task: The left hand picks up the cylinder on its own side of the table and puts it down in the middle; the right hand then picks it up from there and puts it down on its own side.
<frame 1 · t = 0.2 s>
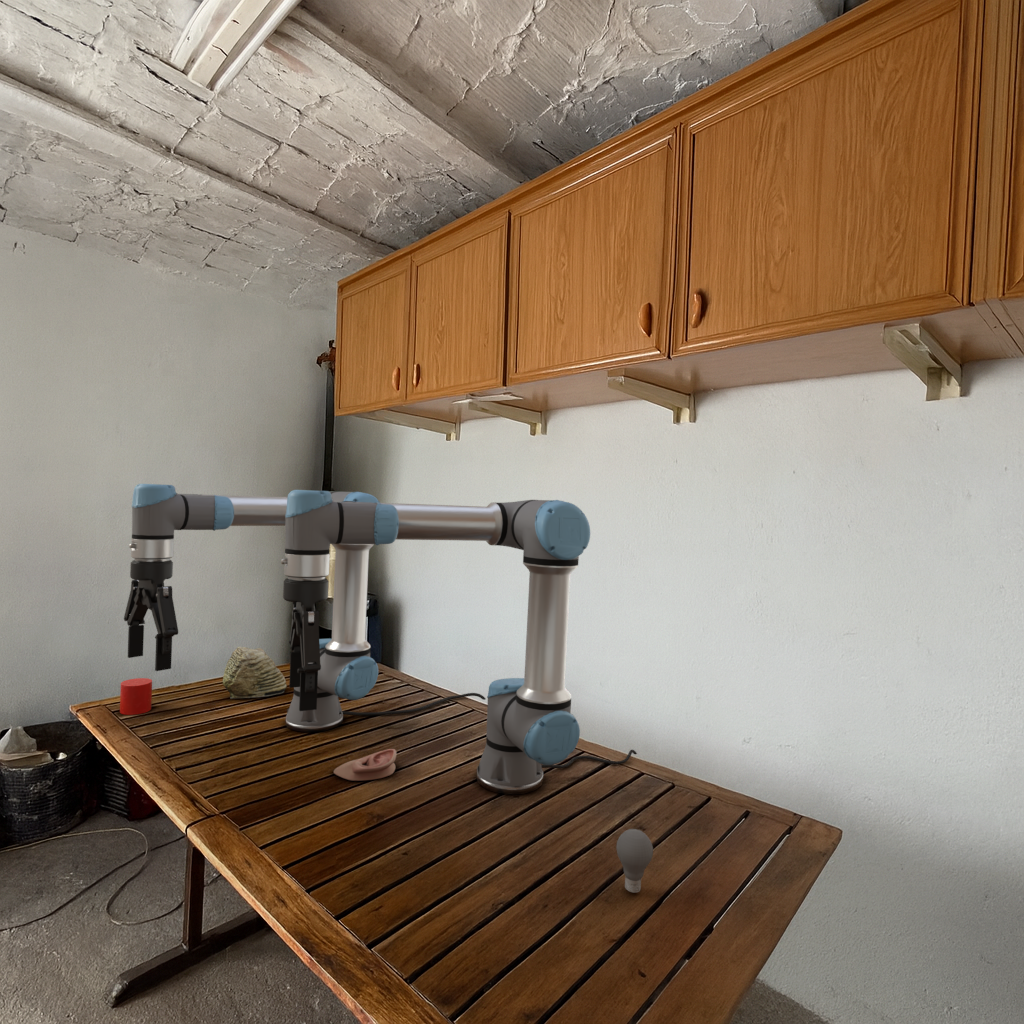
left hand: (148, 663, 130), 28 cm above the table, tool pointing down, fingers open, 13 cm apart
right hand: (302, 697, 112), 28 cm above the table, tool pointing down, fingers open, 13 cm apart
fossil: (254, 694, 198), on the table
anatomical model: (365, 771, 147), on the table
light bulb: (632, 891, 106), on the table
cylinder: (135, 710, 180), on the table
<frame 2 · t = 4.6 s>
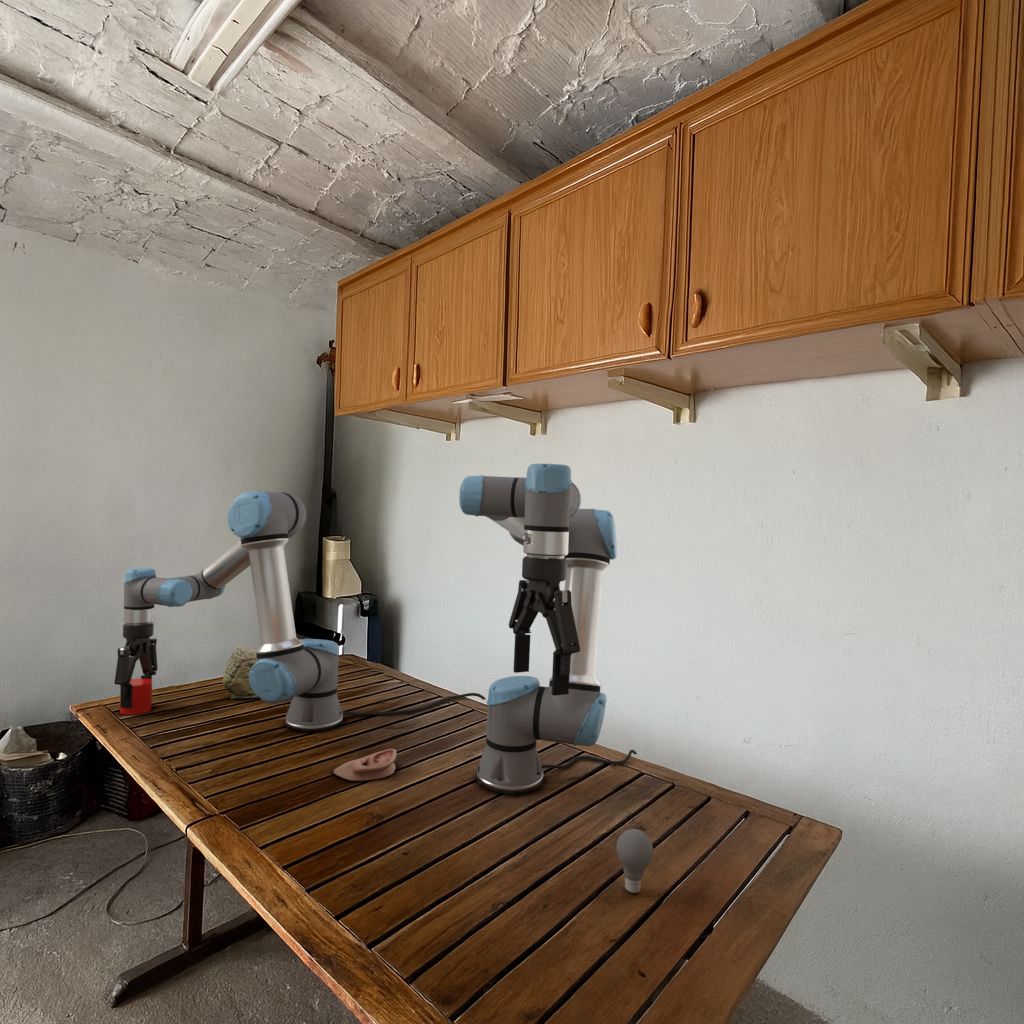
left hand: (135, 702, 180), 2 cm above the table, tool pointing down, fingers closed on cylinder, 8 cm apart
right hand: (539, 682, 106), 34 cm above the table, tool pointing down, fingers open, 13 cm apart
cylinder: (135, 710, 180), on the table, touching left hand
everything else where it was.
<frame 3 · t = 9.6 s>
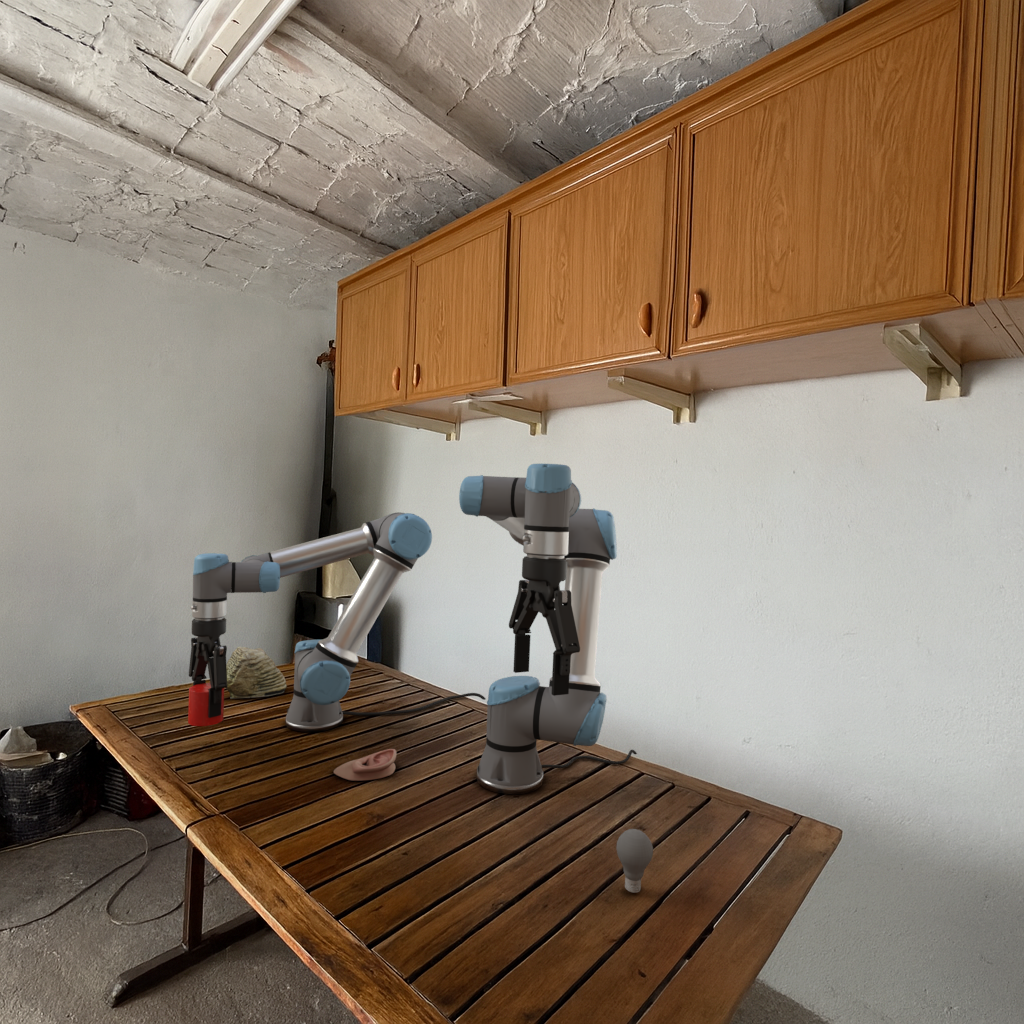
left hand: (206, 711, 153), 10 cm above the table, tool pointing down, fingers closed on cylinder, 8 cm apart
right hand: (539, 682, 106), 34 cm above the table, tool pointing down, fingers open, 13 cm apart
cylinder: (205, 720, 153), point 8 cm above the table, touching left hand
everything else where it was.
when the left hand's fingers open (4 cm above the table, at t = 14.8 s): cylinder drops 2 cm, on the table.
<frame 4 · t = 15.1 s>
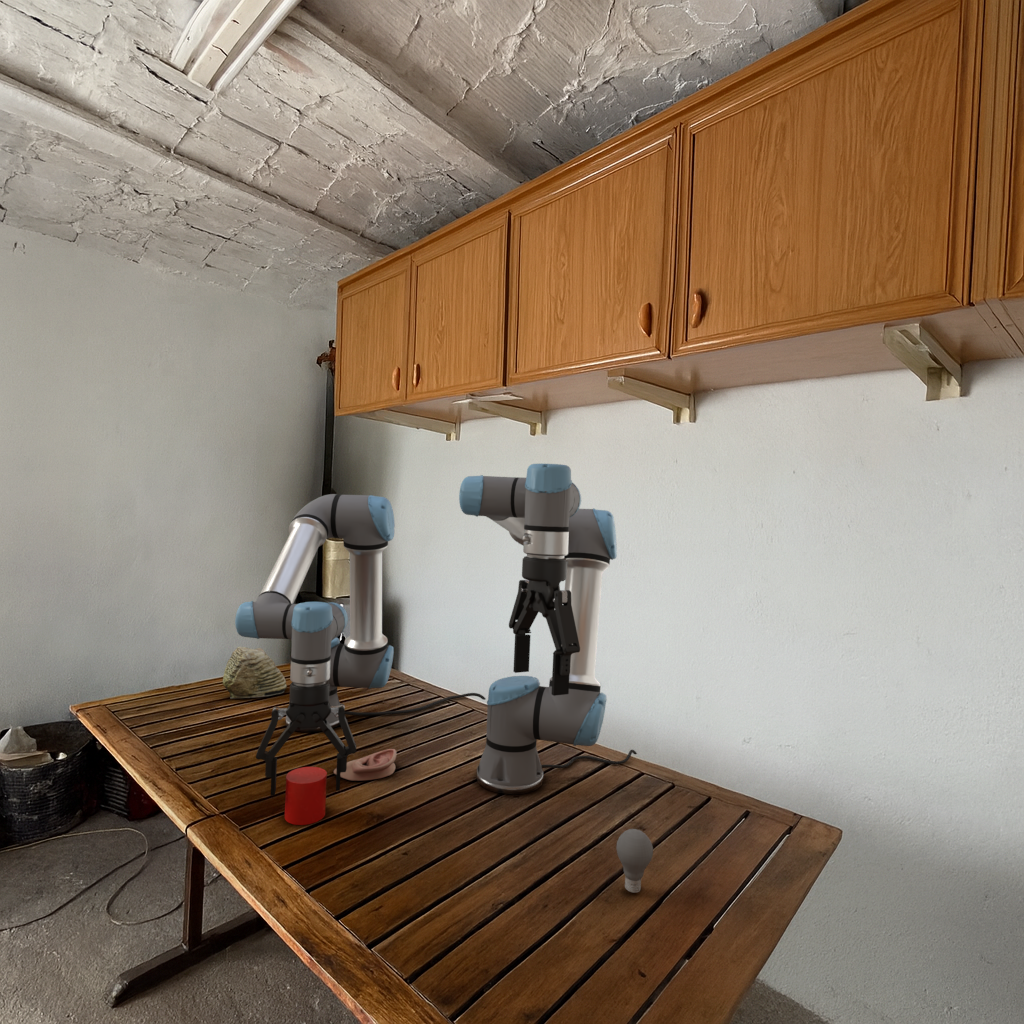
left hand: (305, 790, 126), 5 cm above the table, tool pointing down, fingers open, 11 cm apart
right hand: (539, 682, 106), 34 cm above the table, tool pointing down, fingers open, 13 cm apart
cylinder: (305, 815, 126), on the table
everything else where it was.
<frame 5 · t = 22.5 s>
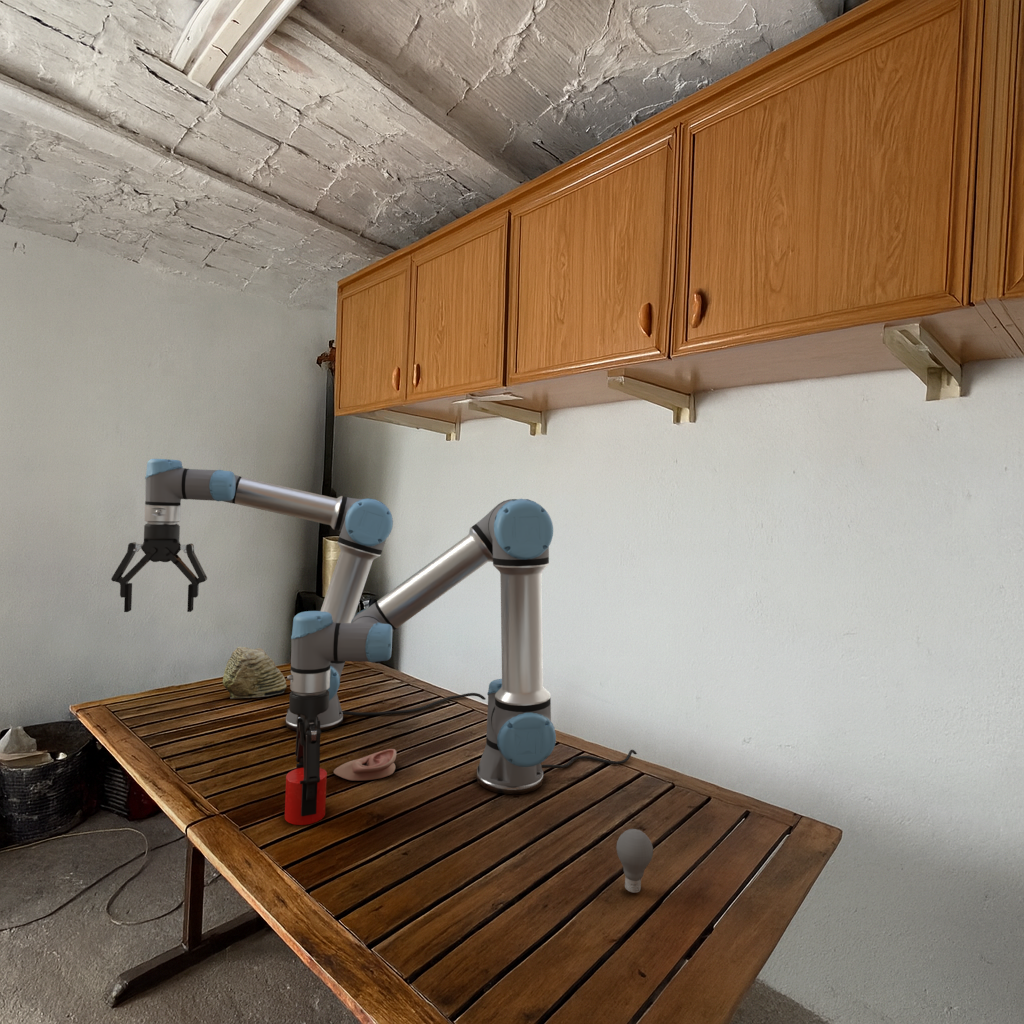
left hand: (159, 611, 153), 34 cm above the table, tool pointing down, fingers open, 13 cm apart
right hand: (305, 804, 126), 2 cm above the table, tool pointing down, fingers closed on cylinder, 8 cm apart
cylinder: (305, 815, 126), on the table, touching right hand
everything else where it was.
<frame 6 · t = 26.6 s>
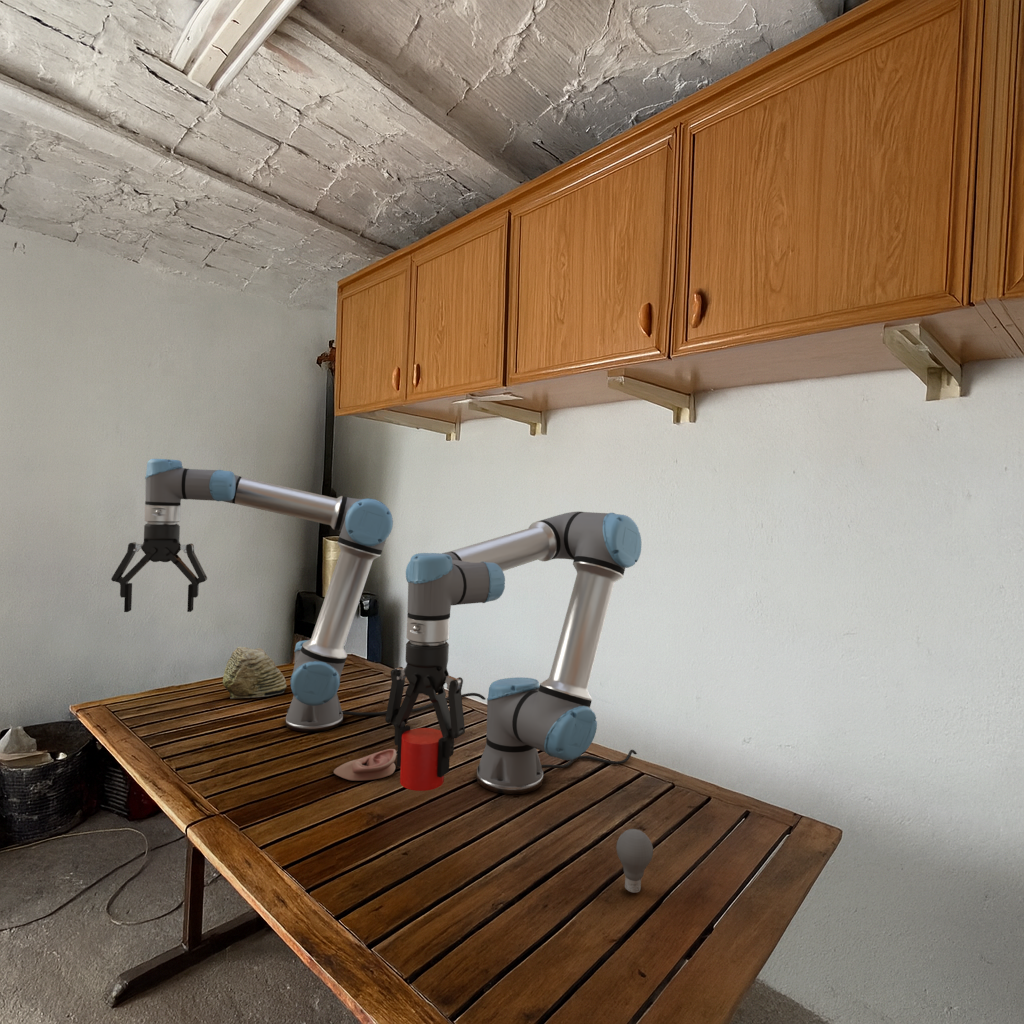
left hand: (159, 611, 153), 34 cm above the table, tool pointing down, fingers open, 13 cm apart
right hand: (422, 768, 112), 16 cm above the table, tool pointing down, fingers closed on cylinder, 8 cm apart
cylinder: (421, 780, 112), point 14 cm above the table, touching right hand
everything else where it was.
when the right hand's fingers open (4 cm above the table, at t = 31.0 s): cylinder drops 2 cm, on the table.
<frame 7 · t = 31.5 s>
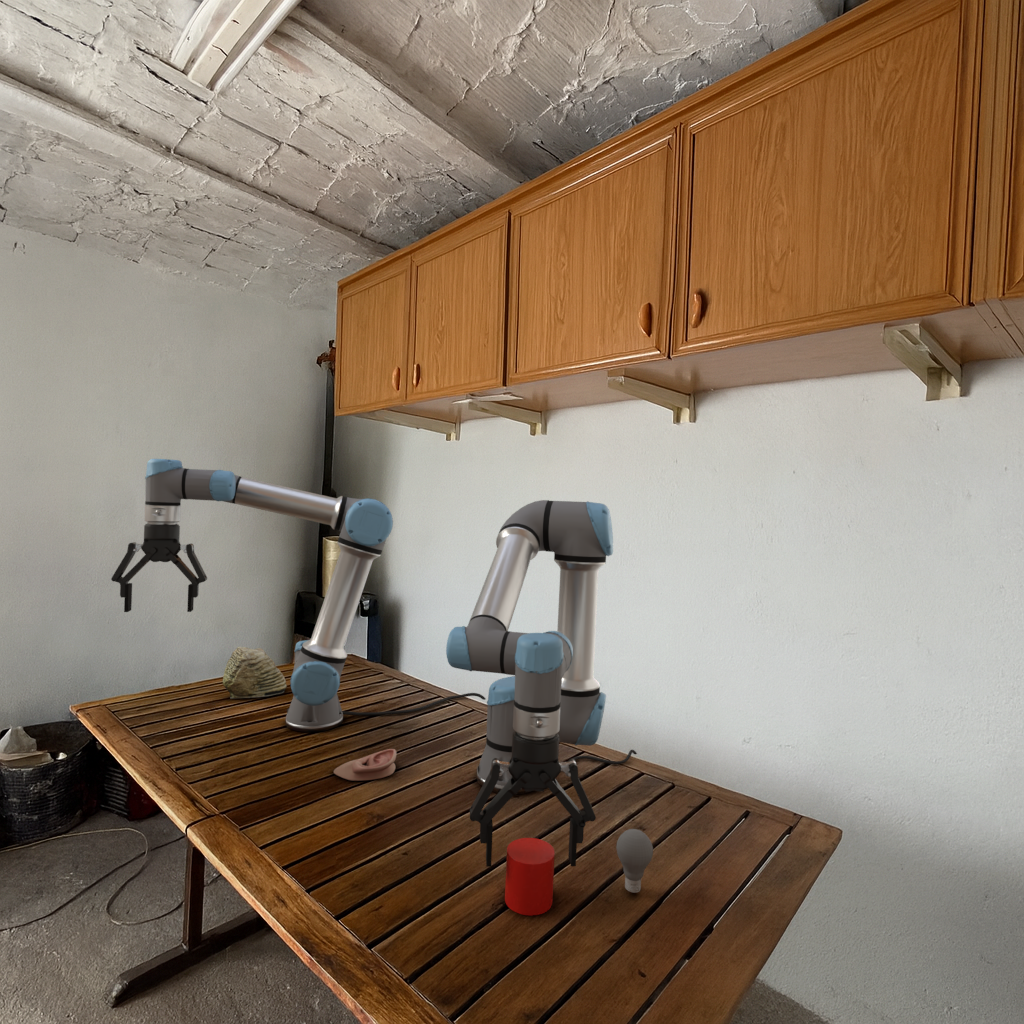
left hand: (159, 611, 153), 34 cm above the table, tool pointing down, fingers open, 13 cm apart
right hand: (530, 861, 102), 6 cm above the table, tool pointing down, fingers open, 13 cm apart
cylinder: (528, 899, 102), on the table
everything else where it was.
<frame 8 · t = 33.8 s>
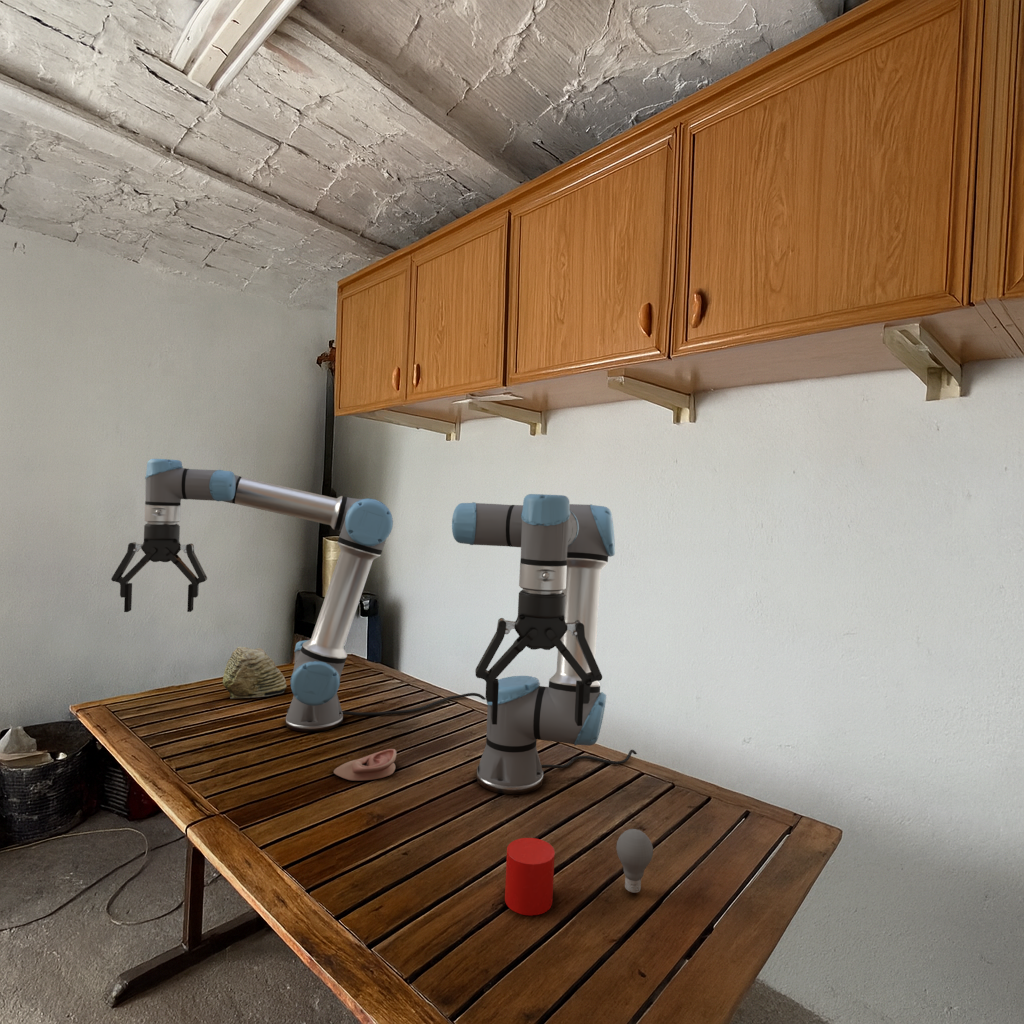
left hand: (159, 611, 153), 34 cm above the table, tool pointing down, fingers open, 13 cm apart
right hand: (536, 722, 102), 29 cm above the table, tool pointing down, fingers open, 13 cm apart
nothing on the table moved.
at the end: cylinder inside the target area (0.1 cm from its centre), on the table; cylinder tilted 0°; the two hands never held the cylinder at the same time; the left hand is holding nothing; the right hand is holding nothing; cylinder at rest at the end (0.0 cm/s) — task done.
